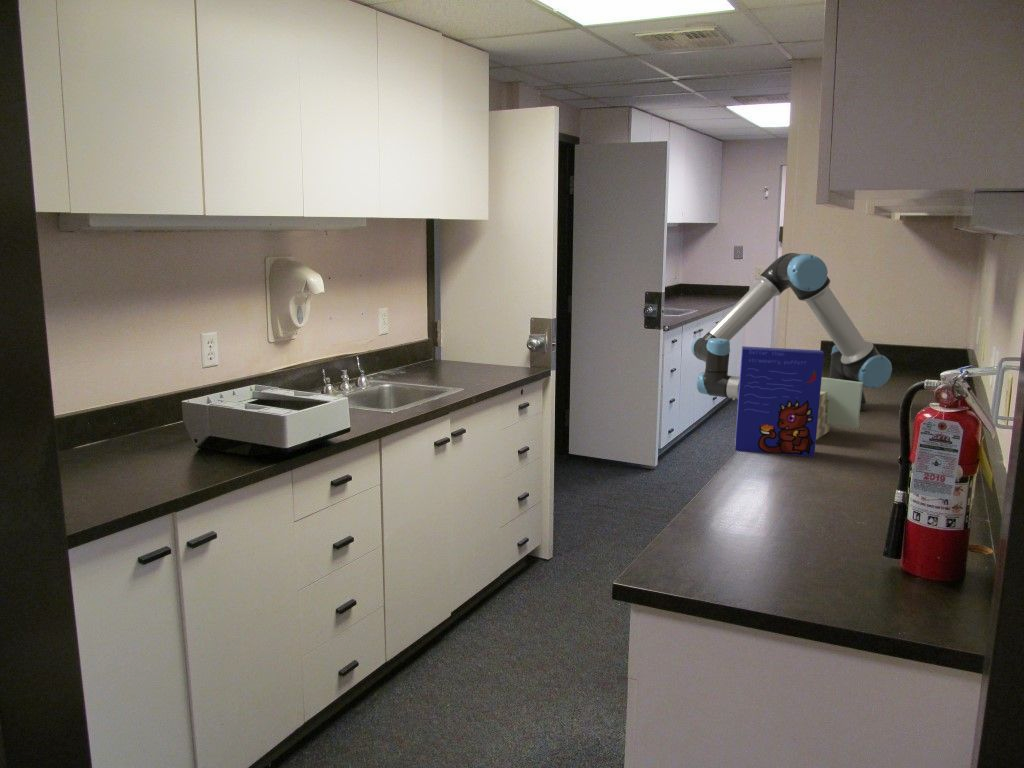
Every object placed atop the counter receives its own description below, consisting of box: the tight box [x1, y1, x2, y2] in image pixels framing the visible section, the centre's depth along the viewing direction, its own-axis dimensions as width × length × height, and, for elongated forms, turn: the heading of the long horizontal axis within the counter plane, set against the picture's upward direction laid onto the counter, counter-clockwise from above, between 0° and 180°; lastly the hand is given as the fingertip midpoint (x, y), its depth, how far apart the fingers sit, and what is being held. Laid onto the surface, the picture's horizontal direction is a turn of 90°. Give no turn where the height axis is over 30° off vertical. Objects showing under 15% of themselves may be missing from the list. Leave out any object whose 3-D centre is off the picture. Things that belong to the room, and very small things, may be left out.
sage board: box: [820, 376, 864, 429], centre depth 258 cm, size 22×2×14 cm, turn 54°
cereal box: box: [734, 345, 825, 458], centre depth 236 cm, size 22×6×30 cm, turn 76°
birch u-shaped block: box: [816, 391, 831, 441], centre depth 255 cm, size 20×2×14 cm, turn 144°
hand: (815, 398), depth 259 cm, fingers closed on sage board, 2 cm apart
